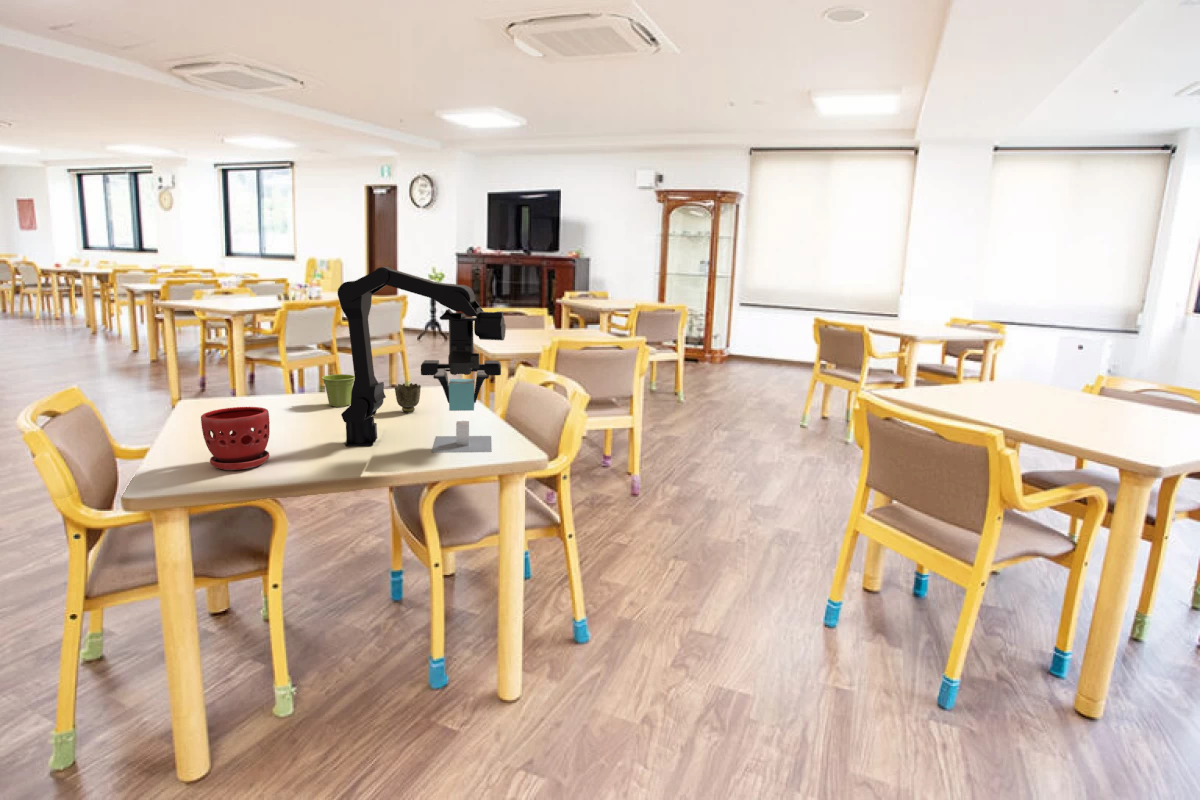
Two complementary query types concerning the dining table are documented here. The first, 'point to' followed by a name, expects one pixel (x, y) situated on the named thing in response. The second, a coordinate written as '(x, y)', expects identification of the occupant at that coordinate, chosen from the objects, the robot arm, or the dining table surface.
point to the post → (462, 433)
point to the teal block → (461, 395)
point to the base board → (449, 445)
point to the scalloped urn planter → (407, 396)
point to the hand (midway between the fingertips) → (462, 402)
